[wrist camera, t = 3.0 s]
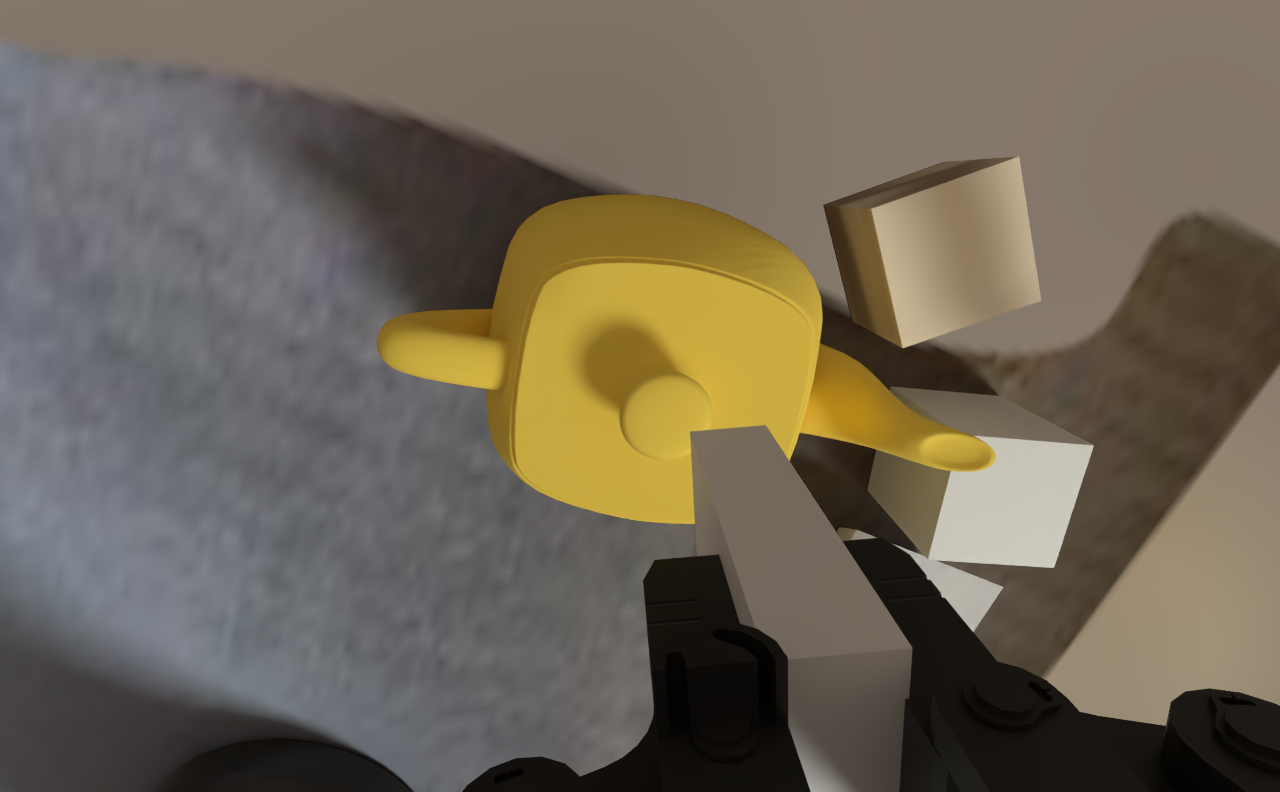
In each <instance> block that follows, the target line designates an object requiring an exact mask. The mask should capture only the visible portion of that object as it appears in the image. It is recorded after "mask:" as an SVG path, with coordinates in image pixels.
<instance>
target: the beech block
mask: <svg viewBox="0 0 1280 792" xmlns="http://www.w3.org/2000/svg"><path fill="white" fill-rule="evenodd" d="M823 206H824V210H825V214H826V218H827V222H828V227H829V231H830V235H831V238H832V243H833V247H834V251H835V255H836V259H837V263H838V267H839V271H840V275H841V279H842V283H843V287H844V291H845V295H846V299H847V303H848V307H849V309H850V313H851V317H852V321H853V322H855V323H857V324H858V325H860V326H862V327H864V328H866V329H868V330H870V331H871V332H873V333H875V334H877V335H879V336H881V337H883V338H884V339H886V340H888V341H890V342H892V343H894V344H895V345H897V346H899V347H901V348H905V347H908V346H911V345H914V344H917V343H920V342H923V341H926V340H929V339H932V338H935V337H937V336H940V335H943V334H946V333H949V332H952V331H955V330H958V329H961V328H964V327H967V326H969V325H972V324H975V323H978V322H981V321H984V320H987V319H990V318H993V317H996V316H998V315H1001V314H1004V313H1007V312H1010V311H1013V310H1016V309H1019V308H1022V307H1025V306H1028V305H1031V304H1034V303H1036V302H1039V301H1041V297H1040V289H1039V283H1038V277H1037V270H1036V264H1035V257H1034V250H1033V244H1032V237H1031V231H1030V224H1029V218H1028V212H1027V205H1026V199H1025V192H1024V186H1023V179H1022V173H1021V166H1020V159H1019V157H1006V158H992V159H978V160H963V161H950V162H942V163H940V164H937V165H934V166H931V167H928V168H925V169H923V170H920V171H917V172H914V173H911V174H909V175H906V176H903V177H900V178H897V179H895V180H892V181H889V182H886V183H883V184H881V185H878V186H875V187H872V188H869V189H867V190H864V191H862V192H858V193H856V194H853V195H850V196H847V197H844V198H841V199H839V200H836V201H833V202H830V203H828V204H825V205H823Z"/></svg>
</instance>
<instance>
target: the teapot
mask: <svg viewBox="0 0 1280 792" xmlns="http://www.w3.org/2000/svg"><path fill="white" fill-rule="evenodd" d="M822 321H823V315H822V303H821V297H820V294H819V291H818V288H817V285H816V282H815V280H814V278H813V276H812V275H811V273H810V272H809V270H808V269H807V267H806V266H805V264H804V263H803V261H801V260H800V259H799V258H798V257H797V256H796V255H795V254H794V253H793V252H792V251H791V250H789V248H788V247H786V246H785V245H784V244H782V243H781V242H779V241H777V240H776V239H774V238H772V237H771V236H769V235H767V234H766V233H764V232H762V231H760V230H758V229H757V228H755V227H753V226H751V225H749V224H747V223H745V222H743V221H741V220H738V219H736V218H734V217H732V216H729V215H727V214H725V213H722V212H719V211H717V210H714V209H711V208H708V207H705V206H702V205H699V204H695V203H690V202H686V201H682V200H678V199H672V198H665V197H659V196H651V195H635V194H616V195H598V196H587V197H580V198H575V199H569V200H564V201H560V202H557V203H554V204H551V205H548V206H546V207H543V208H541V209H540V210H538V211H537V212H536V213H534V214H533V215H531V216H530V217H528V218H527V219H526V220H525V222H524V223H523V224H522V225H521V226H520V227H519V228H518V230H517V231H516V233H515V235H514V237H513V239H512V240H511V242H510V244H509V247H508V251H507V254H506V258H505V261H504V265H503V268H502V272H501V275H500V279H499V284H498V288H497V292H496V296H495V301H494V305H493V309H464V310H435V311H424V312H417V313H410V314H405V315H401V316H398V317H396V318H393V319H391V320H389V321H388V322H386V323H385V324H384V325H383V327H382V328H381V330H380V332H379V336H378V339H377V349H378V352H379V355H380V356H381V358H382V359H383V360H384V361H385V362H386V363H387V364H388V365H389V366H391V367H392V368H394V369H396V370H399V371H401V372H404V373H407V374H410V375H413V376H417V377H421V378H426V379H430V380H435V381H441V382H446V383H452V384H458V385H464V386H471V387H477V388H484V389H486V398H487V422H488V426H489V429H490V433H491V437H492V441H493V444H494V445H495V447H496V449H497V451H498V452H499V454H500V456H501V458H502V459H503V461H504V462H505V463H506V464H507V465H508V467H509V468H510V469H511V470H512V471H513V472H514V473H515V474H516V475H517V476H518V477H519V478H520V479H521V480H522V481H524V482H525V483H527V484H528V485H530V486H531V487H533V488H534V489H536V490H537V491H539V492H541V493H543V494H545V495H547V496H550V497H552V498H554V499H556V500H559V501H562V502H565V503H568V504H571V505H574V506H577V507H580V508H584V509H588V510H591V511H595V512H599V513H603V514H607V515H612V516H616V517H621V518H626V519H632V520H638V521H648V522H660V523H680V524H695V517H694V498H693V479H692V460H691V442H690V431H702V430H714V429H725V428H737V427H749V426H760V425H766V426H767V428H768V429H769V431H770V432H771V434H772V435H773V437H774V438H775V440H776V441H777V443H778V444H779V446H780V447H781V449H782V450H783V452H784V453H785V455H786V457H787V458H788V460H789V461H790V458H791V456H792V453H793V451H794V448H795V445H796V443H797V439H798V436H799V433H804V434H811V435H816V436H821V437H826V438H831V439H836V440H841V441H846V442H850V443H854V444H858V445H862V446H866V447H869V448H873V449H876V450H880V451H883V452H886V453H889V454H892V455H895V456H898V457H901V458H904V459H907V460H910V461H913V462H916V463H920V464H923V465H926V466H929V467H933V468H937V469H941V470H948V471H956V472H972V471H980V470H983V469H986V468H988V467H990V466H991V465H992V464H993V463H994V461H995V458H996V454H995V452H994V450H993V449H992V448H991V447H990V446H989V445H988V444H987V443H985V442H984V441H982V440H980V439H979V438H977V437H975V436H972V435H970V434H967V433H965V432H962V431H959V430H956V429H953V428H950V427H947V426H944V425H941V424H938V423H935V422H933V421H931V420H929V419H927V418H925V417H923V416H921V415H919V414H917V413H916V412H914V411H913V410H911V409H910V408H908V407H907V406H906V405H904V404H903V403H902V402H901V401H900V400H898V399H897V398H896V397H895V396H894V395H893V394H892V393H891V392H890V391H889V390H888V389H887V388H886V387H885V386H884V385H883V384H882V383H881V382H880V380H879V379H878V378H877V377H876V376H875V375H874V374H873V373H872V372H870V371H869V370H868V369H867V368H866V367H865V366H863V365H862V364H861V363H859V362H858V361H856V360H855V359H853V358H851V357H850V356H848V355H846V354H844V353H842V352H840V351H837V350H835V349H833V348H830V347H828V346H826V345H823V344H821V343H820V337H821V329H822Z"/></svg>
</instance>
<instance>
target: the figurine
mask: <svg viewBox="0 0 1280 792" xmlns="http://www.w3.org/2000/svg"><path fill="white" fill-rule="evenodd" d="M836 533H837V534H838V536H839V537H840V539H841V540H842V541H847V540H858V539H870V538H877V537H874V536H872V535H869V534H867V533H864V532H861V531H859V530H856V529H849V528H842V527H839V529H838V531H837V532H836ZM893 545H895V544H893ZM895 546H897V545H895ZM897 547H898V548H900V549H902V550H903V551H905V552H907V553H908V554H910V555H911V557H912V558H913V559H914V560H915V562H916V563H917V564H918V565H919V566H920V568H921V569H922V570H923V571H924V573H925V574H926V575H927V579H928V580H929V579H930V580H931V581H932V582H933V584H934V585H935V586H936V587H937V588H938V590H939V591H940V592H941V596H942V598H946V599H947V601H948V602H949V603H950V604H951V606H952V607H953V608H954V609H955V611H956V612H957V613H958V614H959V615H960V617H961V618H962V619H963V620H964V622H965V623H966V624H967V625H968V626H969V628H970V629H971V630H972V631H973V632H974V630H975V629H976V627H977V626H978V624H979V623H980V621H981V620H982V618H983V617H984V615H985V614H986V612H987V611H988V609H989V608H990V606H991V605H992V603H993V602H994V600H995V599H996V597H997V596H998V595H999V593H1000V592H1001V590H1002V589H1003V587H1002V586H999V585H996V584H994V583H991V582H989V581H986V580H984V579H981V578H979V577H976V576H974V575H971V574H968V573H966V572H963V571H961V570H958V569H956V568H953V567H951V566H948V565H946V564H943V563H940V562H938V561H935V560H928V559H927V558H926V557H925V556H923V555H920V554H917V553H915V552H912V551H910V550H907V549H905V548H902V547H900V546H897Z"/></svg>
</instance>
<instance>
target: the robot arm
mask: <svg viewBox="0 0 1280 792" xmlns="http://www.w3.org/2000/svg"><path fill="white" fill-rule="evenodd" d="M690 442H691V460H692V479H693V498H694V517H695V535H696V554H697V556H695V557H684V558H673V559H662V560H655V561H654V563H653V564H652V566H651V568H650V570H649V571H648V573H647V575H646V577H645V578H644V580H643V584H644V596H645V608H646V620H647V632H648V644H649V656H650V668H651V679H652V691H653V702H654V714H653V719H652V722H651V724H650V727H649V729H648V732H647V733H646V735H645V736H644V737H643V739H642V740H641V741H640V743H639V744H638V745H637V746H636V747H635V748H634V749H632V750H631V751H630V752H629V753H628V754H626V755H625V756H624V757H623V758H621V759H619V760H617V761H615V762H613V763H611V764H609V765H608V766H606V767H603V768H601V769H598V770H596V771H593V772H591V773H588V774H586V775H583V776H581V777H580V776H579V775H578V774H576V773H575V772H574V771H573V770H572V769H571V768H569V767H568V766H567V765H566V764H565V763H561V762H558V761H555V760H551V759H548V758H544V757H530V758H516V759H513V760H510V761H508V762H505V763H503V764H500V765H497V766H495V767H492V768H490V769H488V770H487V771H486V772H484V773H483V774H482V775H480V776H479V777H478V778H476V779H475V780H474V781H472V782H471V783H470V784H468V785H467V786H466V788H465V789H464V790H463V792H1280V706H1279V705H1277V704H1274V703H1271V702H1268V701H1265V700H1262V699H1259V698H1255V697H1252V696H1249V695H1246V694H1243V693H1239V692H1231V691H1224V690H1217V689H1202V690H1194V691H1187V692H1184V693H1183V694H1181V695H1180V696H1179V697H1177V698H1176V699H1174V700H1173V701H1172V702H1171V705H1170V710H1169V714H1168V719H1167V724H1166V726H1162V725H1156V724H1149V723H1142V722H1136V721H1129V720H1122V719H1115V718H1109V717H1102V716H1096V715H1092V714H1087V713H1082V712H1079V711H1078V709H1077V708H1076V707H1075V706H1074V705H1073V704H1072V703H1071V702H1070V701H1069V700H1068V698H1066V697H1065V696H1064V695H1063V694H1062V693H1061V692H1059V691H1058V690H1057V689H1056V688H1055V687H1053V686H1052V685H1051V684H1050V683H1049V682H1048V681H1046V680H1044V679H1042V678H1040V677H1038V676H1036V675H1034V674H1032V673H1030V672H1028V671H1026V670H1024V669H1022V668H1019V667H1016V666H1012V665H1008V664H1005V663H1001V662H997V661H996V659H995V658H994V657H993V656H992V655H991V653H990V652H989V651H988V650H987V648H986V647H985V646H984V645H983V644H982V642H981V641H980V640H979V639H978V637H977V636H976V635H975V634H974V633H973V631H972V630H971V629H970V628H969V626H968V625H967V624H966V623H965V622H964V620H963V619H962V618H961V617H960V615H959V614H958V613H957V612H956V611H955V609H954V608H953V607H952V606H951V604H950V603H949V602H948V601H947V599H946V598H942V596H941V592H940V591H939V590H938V588H937V587H936V586H935V585H934V584H933V582H932V581H931V580H930V579H929V580H928V579H927V575H926V574H925V573H924V571H923V570H922V569H921V568H920V566H919V565H918V564H917V563H916V562H915V560H914V559H913V558H912V557H911V555H910V554H908V553H907V552H905V551H903V550H902V549H900V548H898V547H897V546H895V545H893V544H892V543H890V542H888V541H887V540H885V539H883V538H882V537H881V538H870V539H858V540H847V541H842V540H841V539H840V537H839V536H838V534H837V533H836V531H835V529H834V528H833V526H832V525H831V523H830V522H829V520H828V519H827V517H826V516H825V514H824V513H823V511H822V510H821V508H820V507H819V505H818V504H817V502H816V501H815V499H814V498H813V496H812V495H811V493H810V491H809V490H808V488H807V487H806V485H805V484H804V482H803V481H802V479H801V478H800V476H799V475H798V473H797V472H796V470H795V469H794V467H793V466H792V464H791V463H790V461H789V460H788V458H787V457H786V455H785V453H784V452H783V450H782V449H781V447H780V446H779V444H778V443H777V441H776V440H775V438H774V437H773V435H772V434H771V432H770V431H769V429H768V428H767V426H766V425H760V426H749V427H737V428H725V429H714V430H702V431H690ZM156 792H411V791H410V790H409V789H408V788H407V787H406V786H404V785H403V784H402V783H401V782H400V781H399V780H398V779H396V778H395V777H394V776H392V775H391V774H390V773H388V772H386V771H385V770H383V769H382V768H380V767H379V766H377V765H375V764H373V763H371V762H370V761H367V760H365V759H363V758H361V757H359V756H356V755H354V754H352V753H349V752H346V751H343V750H340V749H337V748H333V747H330V746H326V745H321V744H317V743H310V742H304V741H294V740H262V741H252V742H245V743H240V744H235V745H231V746H227V747H223V748H220V749H217V750H214V751H211V752H209V753H207V754H204V755H202V756H200V757H198V758H196V759H194V760H192V761H191V762H189V763H187V764H186V765H184V766H183V767H181V768H180V769H178V770H177V771H176V772H175V773H173V774H172V775H171V776H170V777H169V778H168V779H167V780H166V781H165V782H164V783H163V784H162V785H161V786H160V787H159V789H158V790H157V791H156Z"/></svg>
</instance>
